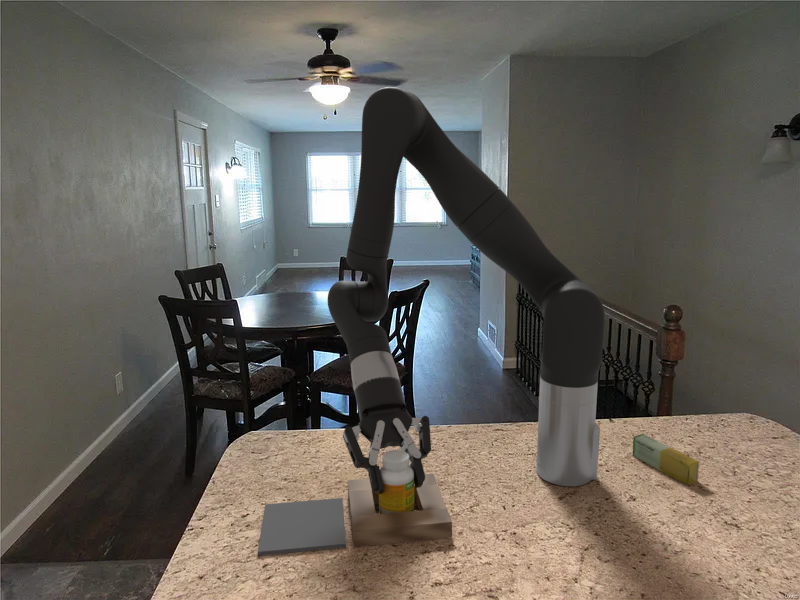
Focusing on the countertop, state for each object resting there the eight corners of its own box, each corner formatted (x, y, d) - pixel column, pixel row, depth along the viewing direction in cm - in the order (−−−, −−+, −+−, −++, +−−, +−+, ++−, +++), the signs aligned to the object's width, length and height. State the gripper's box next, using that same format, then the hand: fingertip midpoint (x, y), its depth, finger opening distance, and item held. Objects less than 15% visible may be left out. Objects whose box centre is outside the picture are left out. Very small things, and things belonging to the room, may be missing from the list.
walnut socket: (433, 487, 98) (433, 473, 97) (452, 537, 84) (452, 521, 84) (348, 494, 96) (347, 480, 95) (353, 546, 82) (353, 530, 82)
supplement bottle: (411, 526, 87) (410, 466, 85) (375, 522, 88) (373, 462, 86) (417, 506, 92) (416, 449, 90) (383, 503, 93) (382, 446, 91)
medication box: (630, 456, 108) (632, 436, 107) (641, 452, 109) (643, 432, 108) (687, 486, 98) (689, 464, 97) (699, 482, 99) (701, 460, 98)
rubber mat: (342, 501, 94) (342, 497, 94) (346, 547, 82) (346, 543, 82) (265, 507, 92) (265, 504, 92) (257, 555, 81) (257, 551, 80)
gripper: (336, 380, 91) (356, 490, 82) (424, 370, 95) (452, 473, 86) (330, 400, 97) (349, 505, 88) (413, 390, 101) (439, 488, 92)
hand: (400, 489), depth 87 cm, fingers closed on supplement bottle, 5 cm apart
